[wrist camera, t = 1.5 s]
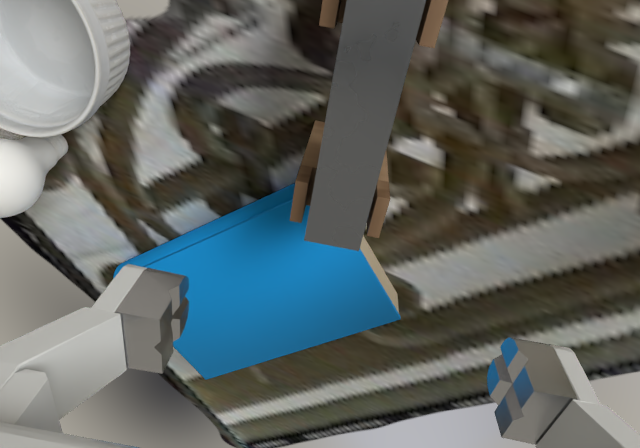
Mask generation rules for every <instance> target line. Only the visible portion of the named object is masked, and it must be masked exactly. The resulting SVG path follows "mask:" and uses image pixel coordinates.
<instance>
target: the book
mask: <svg viewBox="0 0 640 448" xmlns="http://www.w3.org/2000/svg"><path fill="white" fill-rule="evenodd" d="M294 188H295V183H294V184H292V185H290V186H287V187H285V188H283V189H281V190H279V191H277V192H274V193H272V194H270V195H268V196H266V197H264V198H262V199H259V200H257V201H255V202H253V203H251V204H249V205H246V206H244V207H242V208H240V209H238V210H236V211H233V212H231V213H229V214H227V215H225V216H223V217H221V218H218V219H216V220H214V221H212V222H210V223H208V224H205V225H203V226H201V227H199V228H197V229H195V230H192V231H190V232H188V233H186V234H184V235H182V236H179V237H177V238H175V239H173V240H171V241H169V242H167V243H164V244H162V245H160V246H158V247H156V248H154V249H151V250H149V251H147V252H145V253H143V254H141V255H138V256H136V257H134V258H132V259H130V260H128V261H125V262H123V263H121V264H120V265H119V266H118V267H117V268H116V270H115V272H114V276H113V279H114V278H115V276H116V275H117V274H118V272H119V271H120V270H121V269H122V267H124V266H125V265H127V264H131V265H136V266H140V267H145V268H152V269H157V270H161V271H166V272H171V273H175V274H180V275H184V276H187V277H188V278H189V289H188V291H187V293H186V295H185V297H186V298H187V299H188V301H189V311H188V318H187V321H186V324H185V328H184V330H183V332H182V334H181V336H180V338H178V339H177V340H175V341H174V342H173V347H174V348H175V349H176V350H177V351H178V352H179V353H180V354H181V355H182V356H183V357H184V358H185V359H186V360H187V361H188V362H189V363H190V364H191V365H192V366H193V367H194V368H195V369H196V370H197V371H198V372H199V373H200V374H201V375H202V376H203V377H204V378H205V379H206V380H207V379H210V378H213V377H216V376H220V375H223V374H226V373H229V372H233V371H236V370H239V369H242V368H245V367H249V366H252V365H255V364H258V363H262V362H265V361H268V360H271V359H274V358H278V357H281V356H284V355H287V354H291V353H294V352H297V351H300V350H303V349H307V348H310V347H313V346H316V345H320V344H323V343H326V342H329V341H332V340H336V339H339V338H342V337H345V336H349V335H352V334H355V333H358V332H361V331H365V330H368V329H371V328H374V327H378V326H381V325H384V324H387V323H390V322H394V321H397V320H400V319H401V318H400V315H399V309H398V297H397V293H396V291H395V289H394V287H393V286H392V284H391V282H390V281H389V279H388V277H387V275H386V274H385V272H384V270H383V269H382V267H381V265H380V263H379V262H378V260H377V258H376V257H375V255H374V253H373V251H372V250H371V248H370V246H369V245H368V243H367V241H366V239H365V238H364V236H363V238H362V242H361V245H360V249H359V251H355V250H350V249H345V248H340V247H335V246H330V245H324V244H319V243H314V242H309V241H304V238H305V232H306V227H307V221H308V215H309V210H310V206H308V205H306V207H305V211H304V215H303V219H302V223H298V222H293V221H290V215H291V208H292V202H293V195H294Z"/></svg>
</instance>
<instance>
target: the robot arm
mask: <svg viewBox="0 0 640 448" xmlns="http://www.w3.org/2000/svg"><path fill="white" fill-rule="evenodd" d="M188 289H189V278H188V277H187V276H184V275H180V274H175V273H171V272H166V271H161V270H157V269H152V268H145V267H140V266H136V265H131V264H127V265H125V266H124V267H122V269H121V270H120V271H119V272H118V274H117V275H116V276H115V278H114V279H113V280H112V281H111V283H110V284H109V285H108V287H107V288H106V289H105V290H104V292H103V293H102V294H101V295H100V297H99V298H98V299H97V301H96V302H95V303H94V304H93V306H92V307H91V308H88V307H84V308H81V309H79V310H77V311H75V312H73V313H70V314H68V315H66V316H64V317H62V318H59V319H58V320H55V321H53V322H51V323H49V324H47V325H44V326H42V327H40V328H38V329H36V330H33V331H31V332H29V333H27V334H25V335H23V336H20V337H18V338H16V339H14V340H12V341H9V342H7V343H5V344H3V345H1V346H0V448H139V447H133V446H128V445H122V444H117V443H111V442H106V441H101V440H95V439H90V438H84V437H79V436H74V435H69V434H63V433H62V429H61V425H60V422H59V420H60V419H61V418H62V417H64V416H65V415H66V414H68V413H69V412H71V411H72V410H73V409H75V408H76V407H77V406H78V405H80V404H81V403H83V402H84V401H85V400H87V399H88V398H89V397H91V396H92V395H94V394H95V393H96V392H98V391H99V390H100V389H102V388H103V387H104V386H106V385H107V384H109V383H110V382H111V381H113V380H114V379H115V378H117V377H118V376H119V375H121V374H122V373H123V372H125V371H126V370H127V368H130V369H137V370H143V371H149V372H156V373H163V371H164V369H165V367H166V365H167V363H168V361H169V359H170V357H171V355H172V353H173V342H174V341H175V340H177V339H178V338H180V336H181V334H182V332H183V330H184V328H185V324H186V321H187V318H188V311H189V301H188V299H187V298H186V297H185V295H186V293H187V291H188ZM500 348H501V351H502V355H500V356H499V357H497V358H495V359H493V361H492V363H491V365H490V367H489V370H488V376H487V384H488V390H489V394H490V397H491V398H492V399H493V400H494V401H495V402H496V403H497V404H498V407H497V409H496V410H495V416H496V419H497V423H498V426H499V430H500V433H501V437H503V438H507V439H512V440H516V441H521V442H526V443H531V444H535V445H536V448H640V434H639V433H638V432H637V431H636V430H635V429H633V428H632V427H631V426H630V425H629V424H628V423H627V422H625V421H624V420H623V419H622V418H621V417H620V416H619V415H618V414H616V413H615V412H614V411H613V410H612V409H611V408H609V407H608V406H606V405H601V403H600V401H599V399H598V397H597V395H596V393H595V392H594V390H593V388H592V386H591V384H590V382H589V380H588V378H587V376H586V374H585V372H584V370H583V369H582V367H581V365H580V363H579V361H578V359H577V357H576V355H575V353H574V352H573V351H572V350H571V349H570V348H567V347H562V346H556V345H550V344H548V345H547V344H543V343H538V342H532V341H527V340H521V339H516V338H510V337H509V338H507V339H506V340H505V341H504V342H503V344H502V345H501V347H500Z"/></svg>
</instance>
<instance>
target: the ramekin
mask: <svg viewBox="0 0 640 448" xmlns="http://www.w3.org/2000/svg"><path fill="white" fill-rule="evenodd" d="M129 57H130V40H129V33H128V30H127V26H126V21H125V19H124V17H123V13H122V11H121V9H120V8H119V6H118V3H117V1H116V0H0V128H1V129H3V130H6V131H9V132H12V133H15V134H19V135H23V136H29V137H40V138H42V137H52V136H57V135H61V134H64V133H66V132H68V131H70V130H72V129H74V128H76V127H78V126H80V125H82V124H83V123H85V122H86V121H87V120H88V119H90V118H91V117H92V116H93V115H94V114H95V112H96V111H97V110H98V108H99V107H100V106H101V105H102V104H104V103H105V102H106V101H107V100H108V99H109V98H110V97H111V96H112V95H113V93H115V92H116V90H117V89H118V88H119V86H120V84H121V83H122V81H123V80H124V77H125V75H126V73H127V69H128V65H129Z"/></svg>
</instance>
